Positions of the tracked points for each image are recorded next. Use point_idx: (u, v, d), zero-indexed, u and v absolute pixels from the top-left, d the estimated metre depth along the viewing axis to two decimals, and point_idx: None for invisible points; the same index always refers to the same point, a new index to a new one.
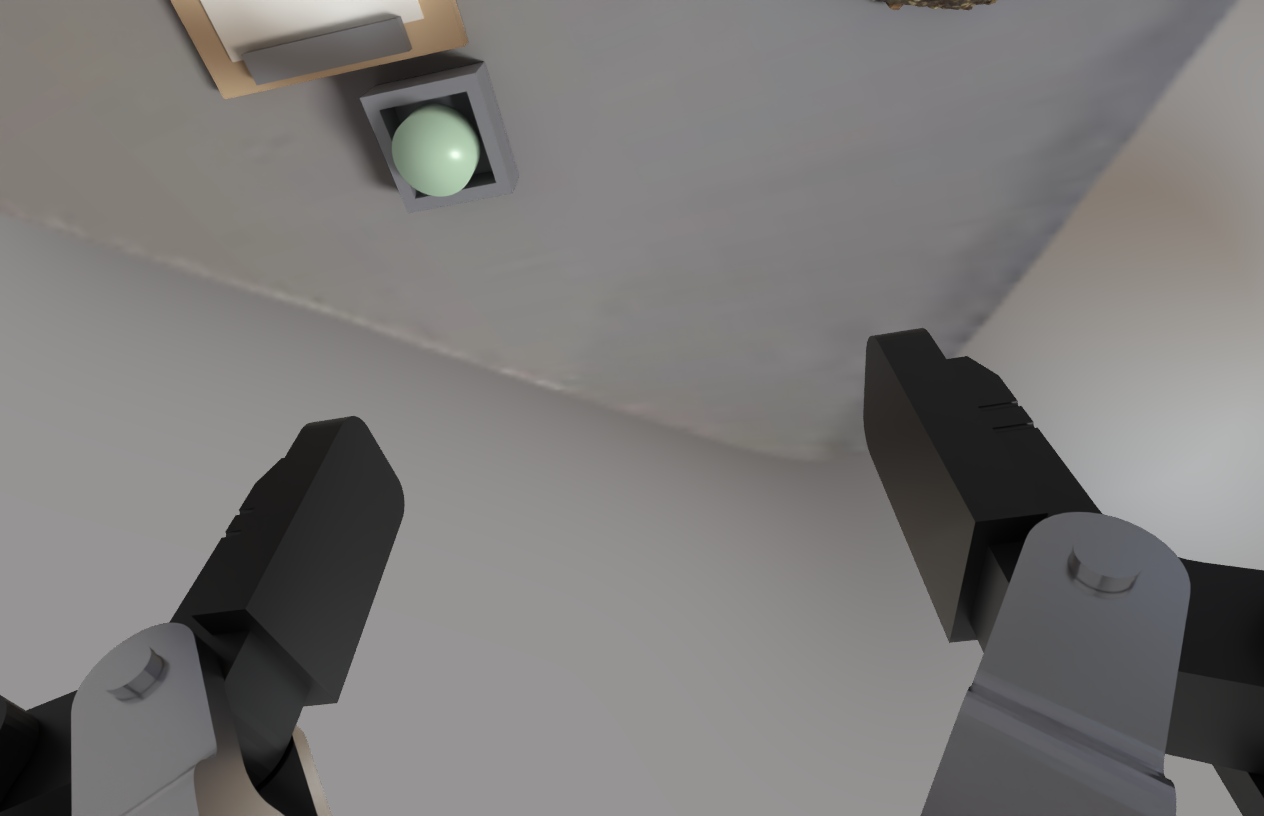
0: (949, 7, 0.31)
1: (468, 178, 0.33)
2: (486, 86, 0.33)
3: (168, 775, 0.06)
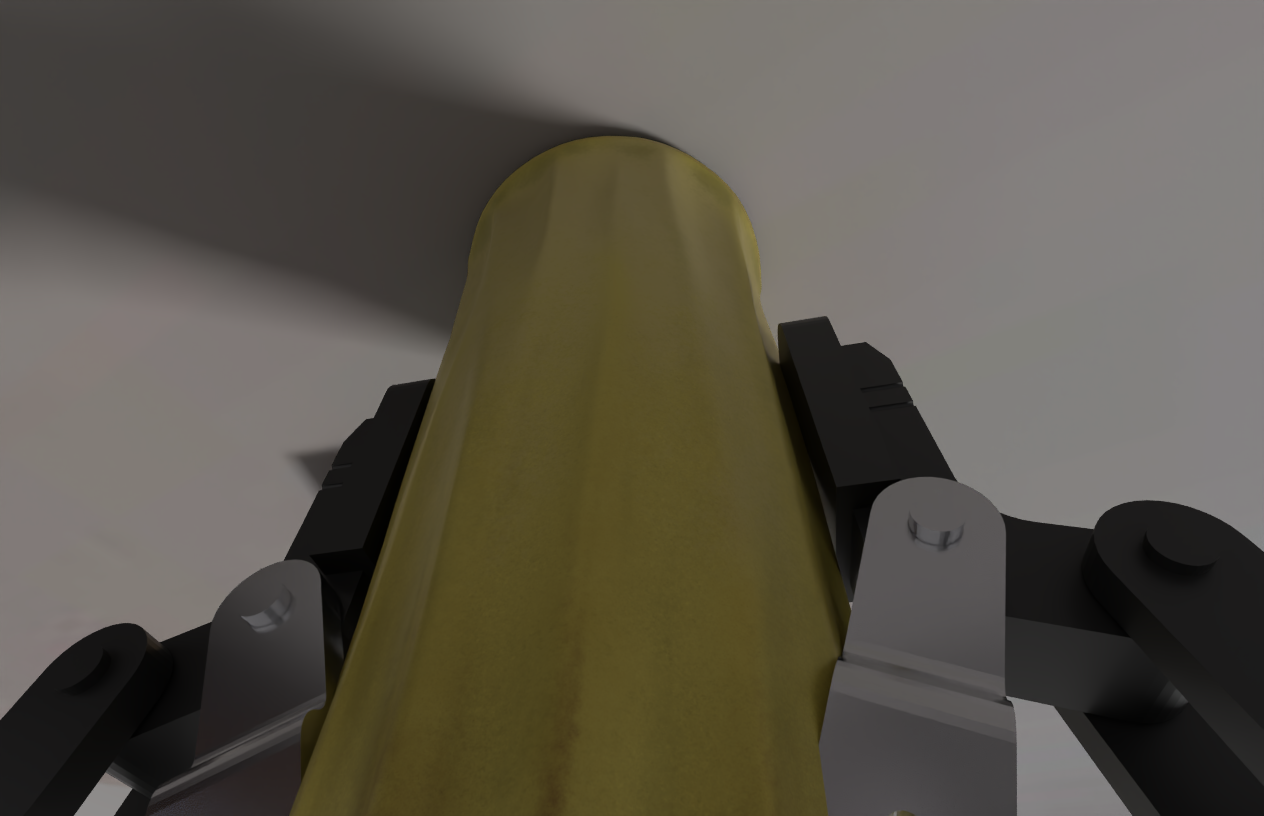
0: None
1: None
2: None
3: (281, 713, 0.06)
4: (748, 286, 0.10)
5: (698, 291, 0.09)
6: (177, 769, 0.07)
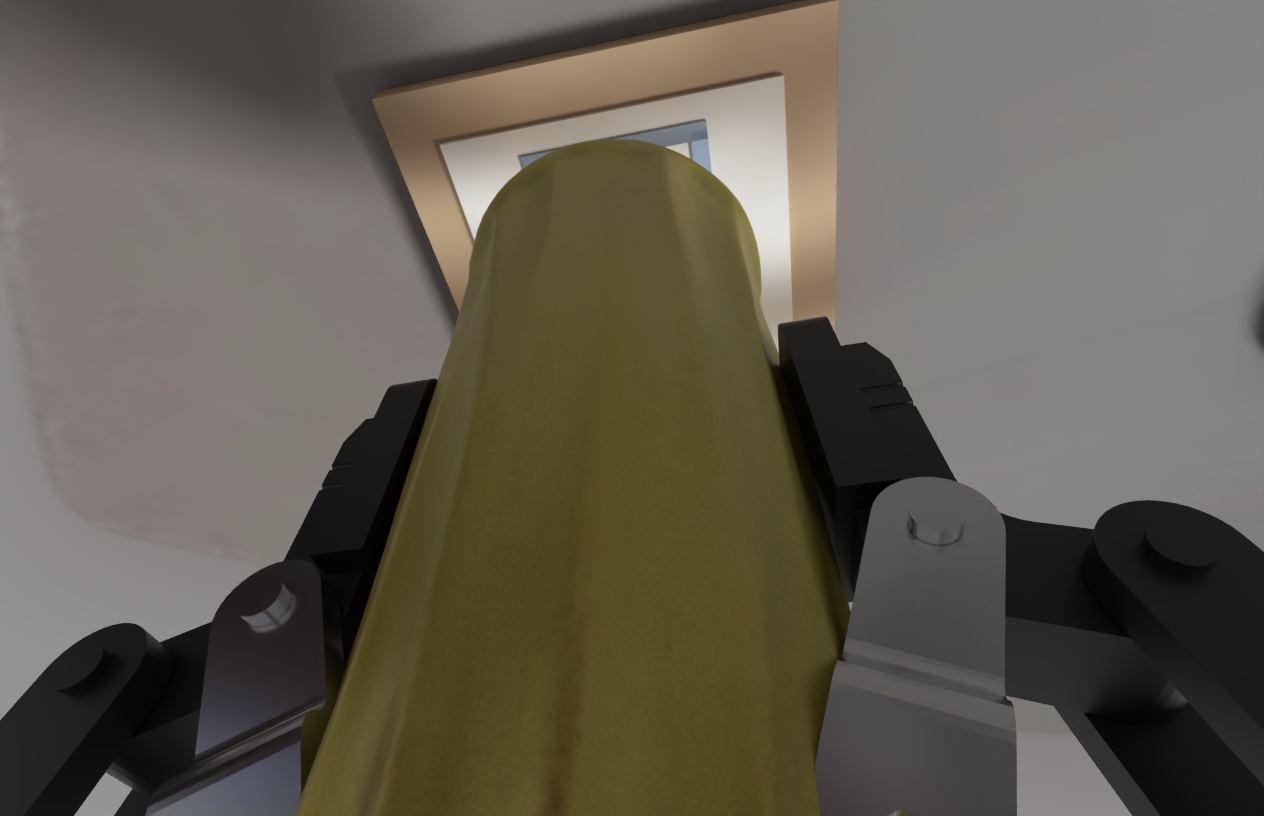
0: None
1: None
2: None
3: (282, 713, 0.06)
4: (748, 289, 0.10)
5: (698, 294, 0.09)
6: (177, 769, 0.07)
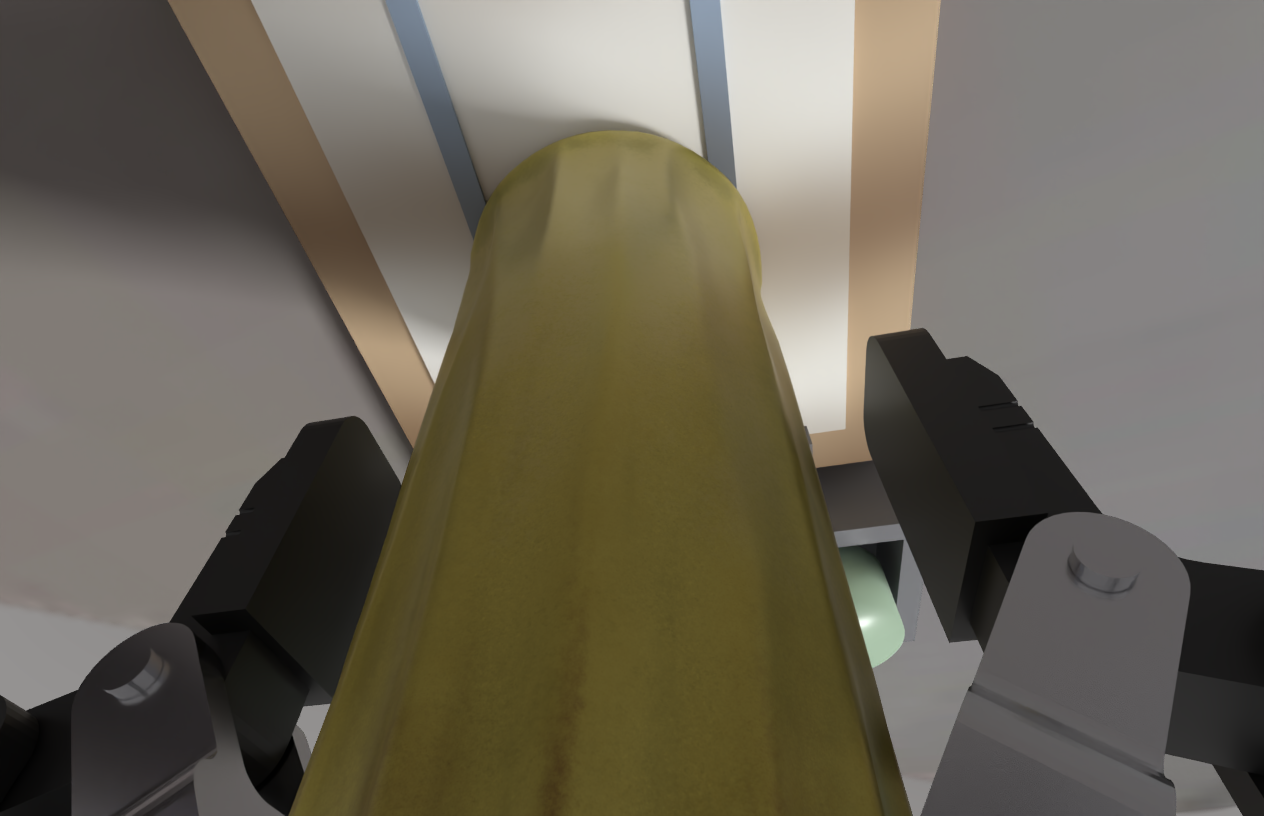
0: None
1: (879, 662, 0.19)
2: None
3: (168, 775, 0.06)
4: (749, 278, 0.10)
5: (699, 281, 0.09)
6: None
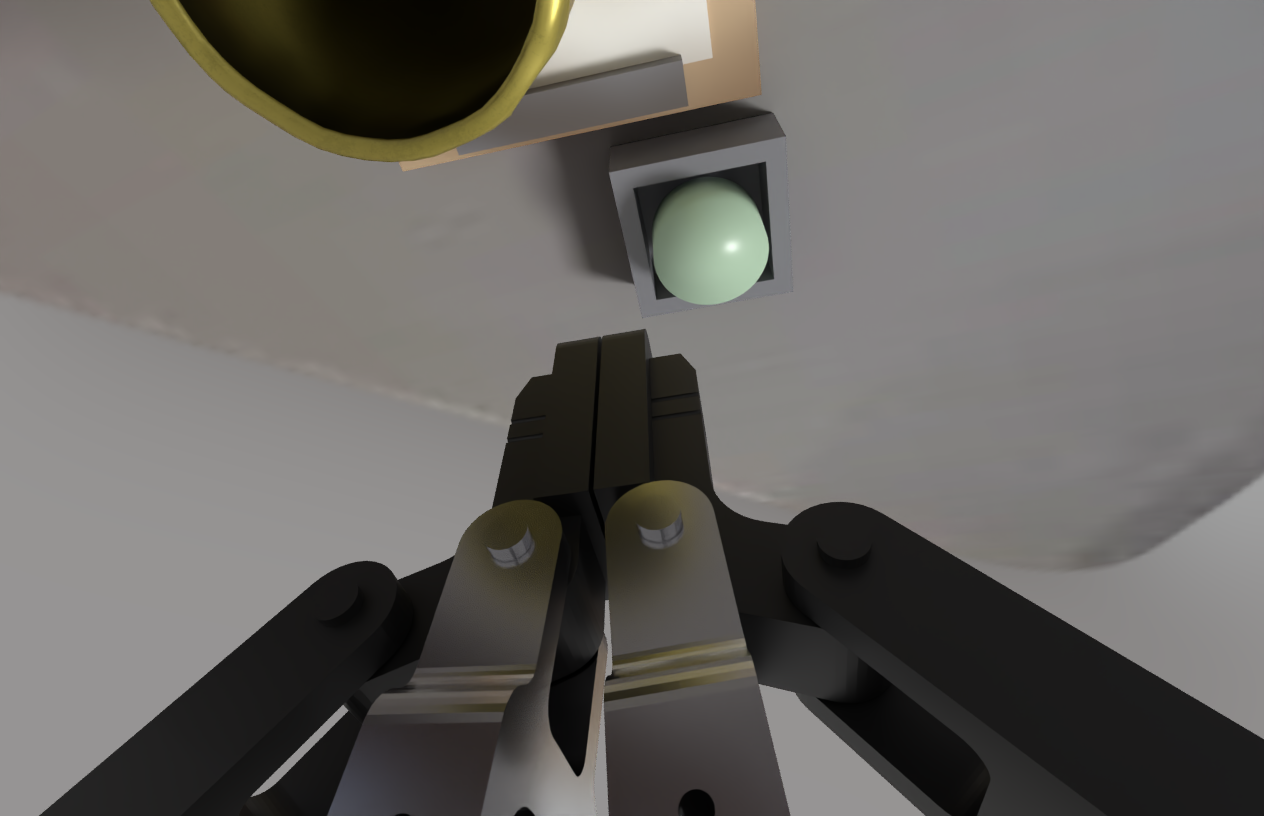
0: None
1: (753, 281, 0.23)
2: None
3: (493, 666, 0.06)
4: None
5: None
6: None
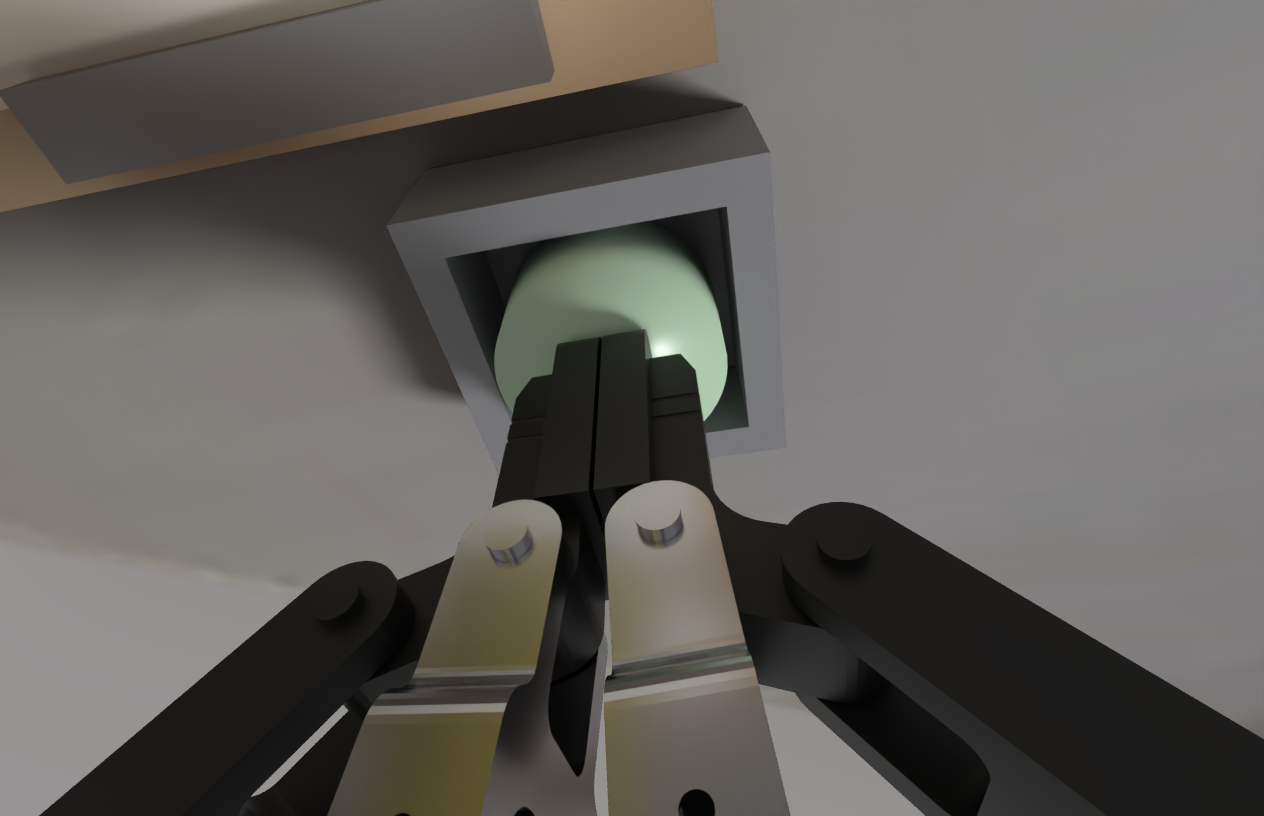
0: None
1: None
2: None
3: (493, 665, 0.06)
4: None
5: None
6: None
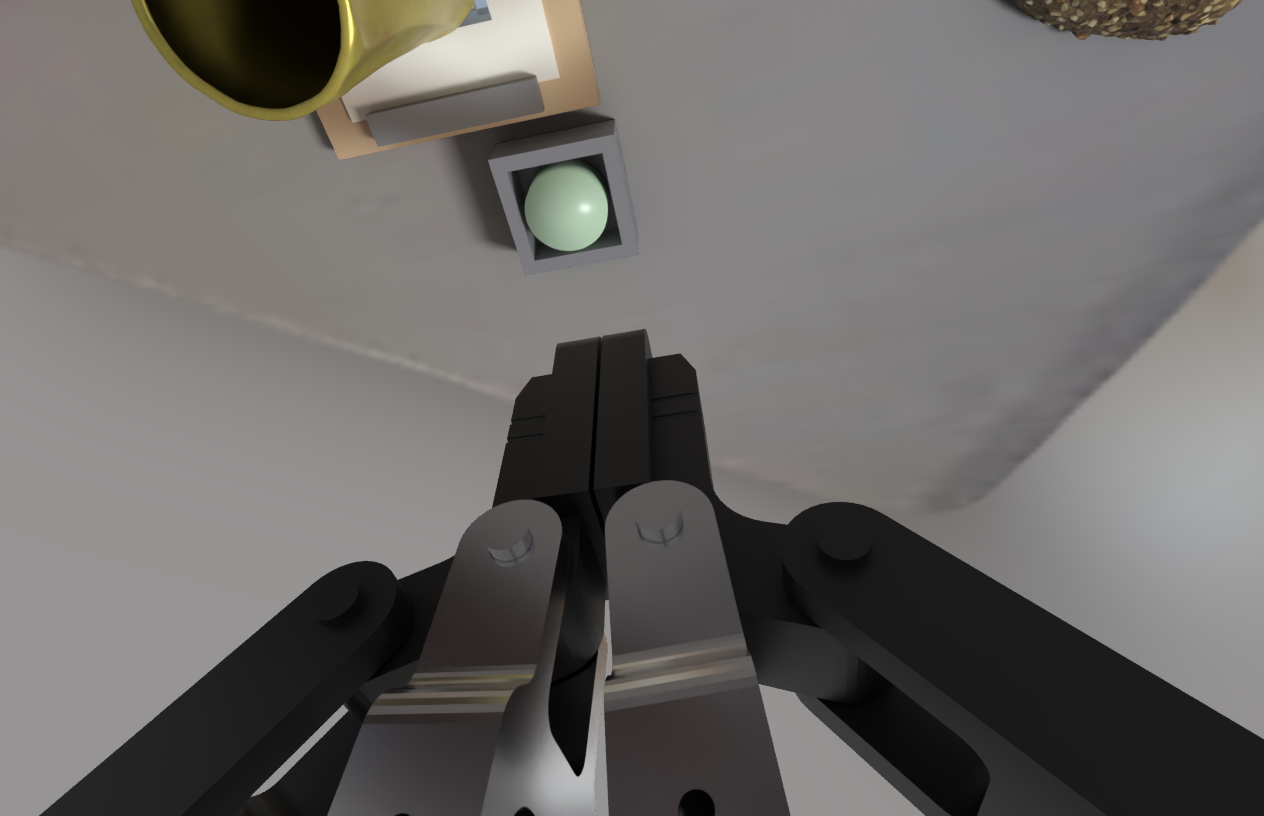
0: (1143, 37, 0.28)
1: (600, 233, 0.32)
2: (618, 145, 0.31)
3: (494, 666, 0.06)
4: None
5: None
6: None
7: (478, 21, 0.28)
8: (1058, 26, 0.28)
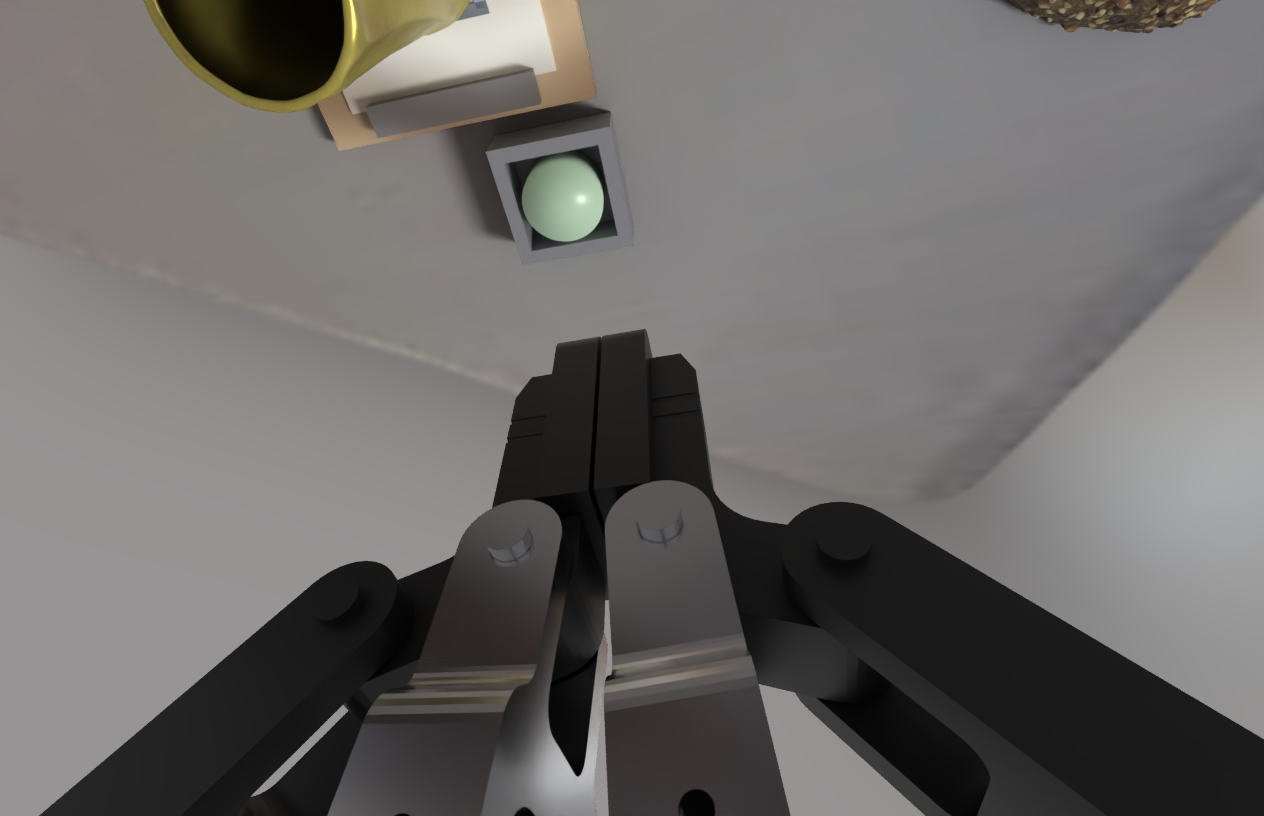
0: (1130, 30, 0.29)
1: (596, 224, 0.33)
2: (614, 138, 0.32)
3: (493, 666, 0.06)
4: None
5: None
6: None
7: (476, 14, 0.28)
8: (1047, 18, 0.29)
